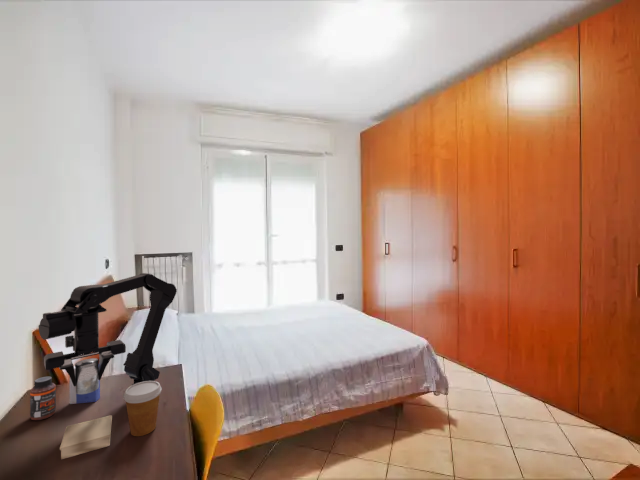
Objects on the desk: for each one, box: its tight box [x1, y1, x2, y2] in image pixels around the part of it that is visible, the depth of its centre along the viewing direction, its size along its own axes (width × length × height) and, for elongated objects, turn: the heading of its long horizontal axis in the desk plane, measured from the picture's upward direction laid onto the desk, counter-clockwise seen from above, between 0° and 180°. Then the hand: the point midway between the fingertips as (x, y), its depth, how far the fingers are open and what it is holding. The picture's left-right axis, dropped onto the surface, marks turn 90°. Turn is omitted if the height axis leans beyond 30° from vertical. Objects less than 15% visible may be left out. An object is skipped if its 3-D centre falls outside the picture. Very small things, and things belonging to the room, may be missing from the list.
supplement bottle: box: [29, 376, 57, 421], centre depth 97 cm, size 6×6×11 cm
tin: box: [74, 357, 99, 394], centre depth 93 cm, size 6×6×8 cm
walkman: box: [68, 365, 101, 405], centre depth 106 cm, size 8×3×12 cm, turn 99°
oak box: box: [59, 415, 113, 460], centre depth 85 cm, size 10×10×3 cm
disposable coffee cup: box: [122, 380, 162, 437], centre depth 91 cm, size 10×10×12 cm
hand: (87, 382), depth 93 cm, fingers closed on tin, 5 cm apart
